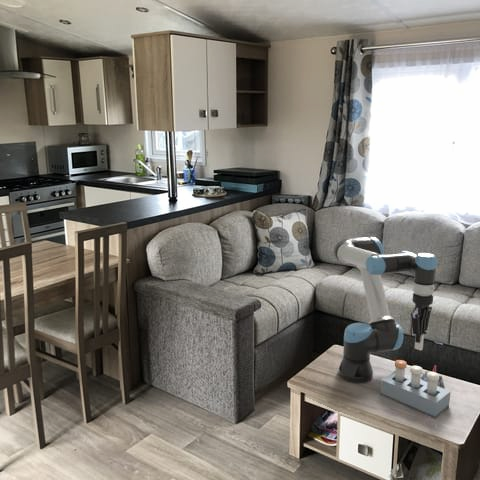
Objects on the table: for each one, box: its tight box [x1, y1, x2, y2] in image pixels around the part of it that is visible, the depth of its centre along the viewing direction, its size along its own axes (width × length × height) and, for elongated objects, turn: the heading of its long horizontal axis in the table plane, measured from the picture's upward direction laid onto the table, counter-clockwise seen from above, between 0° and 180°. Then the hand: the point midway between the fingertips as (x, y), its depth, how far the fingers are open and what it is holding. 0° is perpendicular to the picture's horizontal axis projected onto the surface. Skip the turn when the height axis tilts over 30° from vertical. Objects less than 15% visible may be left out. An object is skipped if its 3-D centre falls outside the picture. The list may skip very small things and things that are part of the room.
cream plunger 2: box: [427, 371, 440, 397], centre depth 200 cm, size 5×5×9 cm
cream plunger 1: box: [409, 365, 423, 390], centre depth 205 cm, size 5×5×9 cm
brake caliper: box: [420, 365, 446, 389], centre depth 215 cm, size 11×11×12 cm
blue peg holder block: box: [379, 370, 451, 420], centre depth 206 cm, size 24×12×7 cm, turn 43°
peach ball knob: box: [394, 359, 408, 383], centre depth 209 cm, size 5×5×9 cm
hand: (418, 348), depth 201 cm, fingers closed
